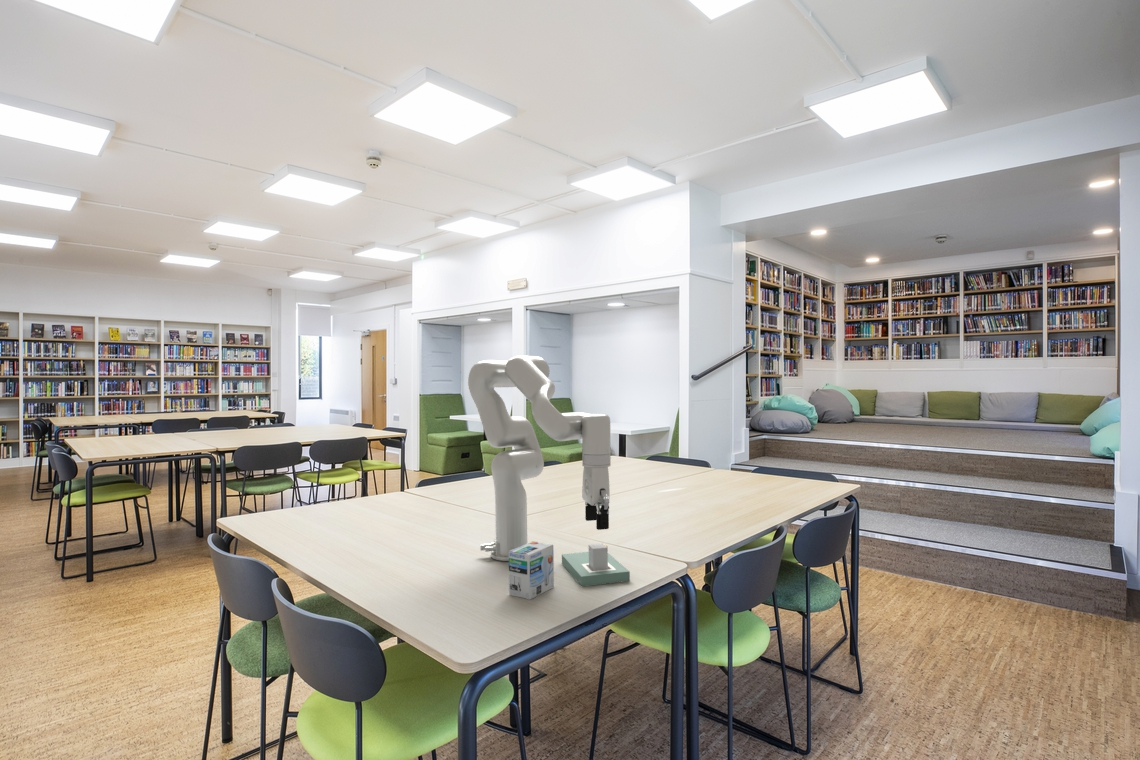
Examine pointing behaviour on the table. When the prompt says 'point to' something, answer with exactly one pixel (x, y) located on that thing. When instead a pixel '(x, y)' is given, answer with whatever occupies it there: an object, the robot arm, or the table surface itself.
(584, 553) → the board
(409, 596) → the table surface
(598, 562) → the plug
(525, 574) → the light bulb box
